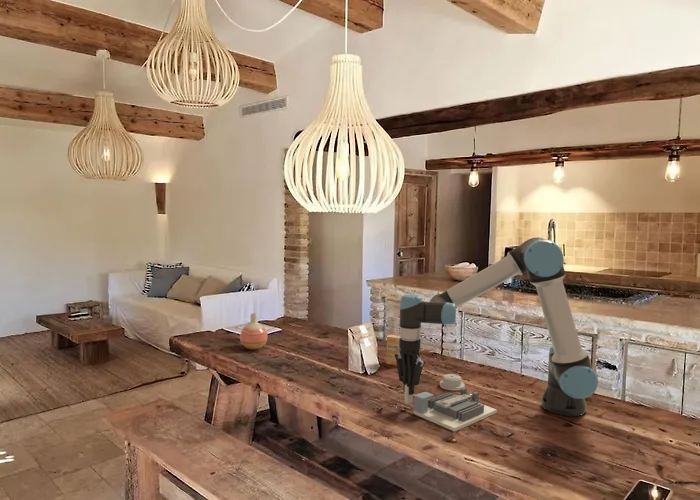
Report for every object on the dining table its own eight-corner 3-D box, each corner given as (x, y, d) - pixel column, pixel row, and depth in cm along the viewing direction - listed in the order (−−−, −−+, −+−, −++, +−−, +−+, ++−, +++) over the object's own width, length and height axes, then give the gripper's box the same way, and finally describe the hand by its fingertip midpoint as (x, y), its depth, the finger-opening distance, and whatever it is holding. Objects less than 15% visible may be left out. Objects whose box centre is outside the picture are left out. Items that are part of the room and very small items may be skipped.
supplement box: (385, 364, 233) (386, 336, 232) (389, 361, 238) (389, 334, 236) (403, 366, 230) (403, 338, 229) (406, 363, 235) (406, 336, 233)
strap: (476, 399, 183) (476, 395, 183) (446, 409, 172) (446, 405, 172) (464, 395, 187) (465, 391, 187) (435, 405, 176) (435, 401, 176)
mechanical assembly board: (496, 412, 181) (497, 395, 180) (454, 431, 165) (455, 412, 164) (456, 397, 194) (456, 381, 194) (413, 413, 179) (413, 396, 178)
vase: (273, 347, 258) (273, 313, 256) (254, 353, 246) (254, 318, 245) (253, 342, 265) (253, 309, 263) (234, 349, 254) (233, 314, 252)
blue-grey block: (433, 409, 179) (433, 394, 179) (422, 413, 176) (422, 398, 175) (424, 405, 182) (425, 391, 182) (413, 410, 179) (414, 395, 178)
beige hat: (439, 390, 202) (464, 392, 200) (439, 379, 202) (465, 381, 200) (439, 381, 212) (464, 383, 210) (440, 371, 212) (464, 373, 210)
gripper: (431, 340, 178) (429, 405, 180) (404, 332, 188) (402, 394, 190) (416, 344, 173) (414, 410, 175) (389, 336, 183) (388, 399, 185)
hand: (408, 402), depth 183 cm, fingers closed
